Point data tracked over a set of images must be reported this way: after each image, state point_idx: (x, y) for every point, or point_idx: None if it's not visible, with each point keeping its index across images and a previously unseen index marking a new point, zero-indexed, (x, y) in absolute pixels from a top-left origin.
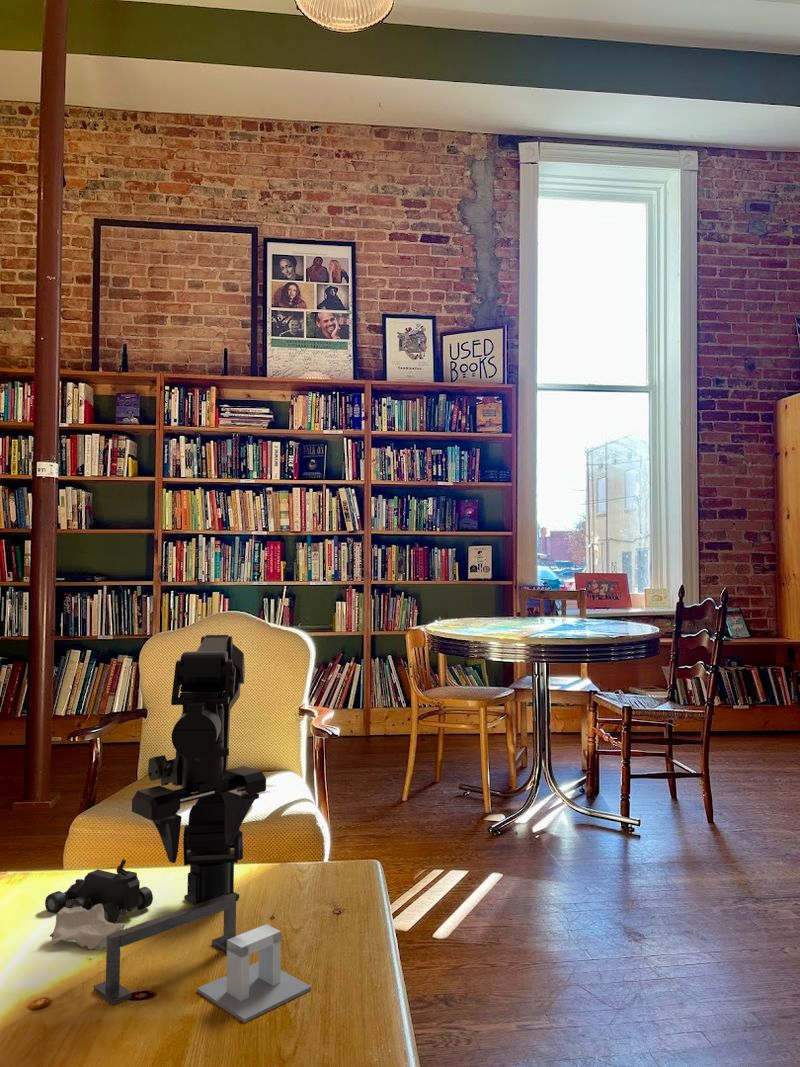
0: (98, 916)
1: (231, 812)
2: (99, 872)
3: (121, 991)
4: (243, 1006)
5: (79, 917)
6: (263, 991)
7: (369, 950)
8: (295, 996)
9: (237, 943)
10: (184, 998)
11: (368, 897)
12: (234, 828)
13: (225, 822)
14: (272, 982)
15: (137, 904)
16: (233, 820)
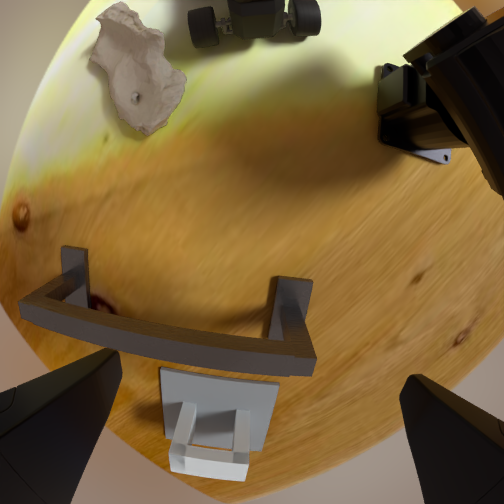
0: (147, 54)
1: (465, 493)
2: None
3: (80, 295)
4: None
5: (129, 33)
6: (216, 428)
7: (373, 433)
8: None
9: (174, 464)
10: (141, 364)
11: (498, 332)
12: (416, 467)
13: (459, 427)
14: (233, 431)
15: (268, 36)
16: (436, 483)
